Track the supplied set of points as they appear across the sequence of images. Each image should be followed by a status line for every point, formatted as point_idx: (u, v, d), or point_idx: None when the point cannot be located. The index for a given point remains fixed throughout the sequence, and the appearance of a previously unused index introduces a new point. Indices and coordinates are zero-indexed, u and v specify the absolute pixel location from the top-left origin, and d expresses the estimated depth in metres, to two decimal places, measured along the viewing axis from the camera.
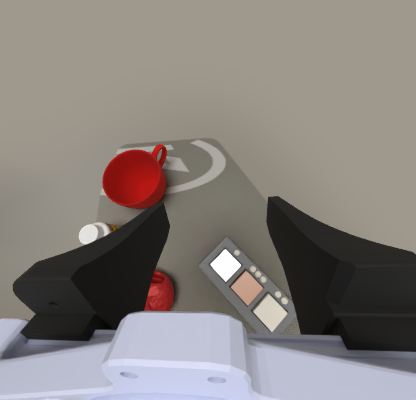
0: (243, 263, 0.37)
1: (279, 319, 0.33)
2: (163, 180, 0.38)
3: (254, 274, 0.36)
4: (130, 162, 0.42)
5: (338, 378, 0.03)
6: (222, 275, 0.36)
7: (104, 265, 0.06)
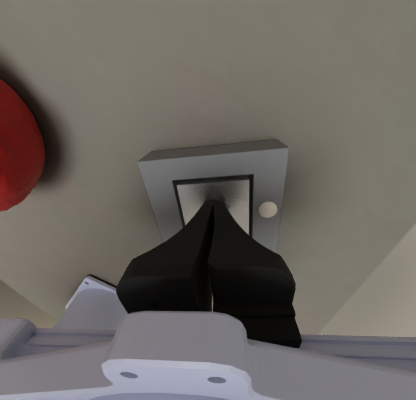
0: (258, 236, 0.13)
1: None
2: None
3: None
4: None
5: (338, 378, 0.03)
6: None
7: (199, 263, 0.06)
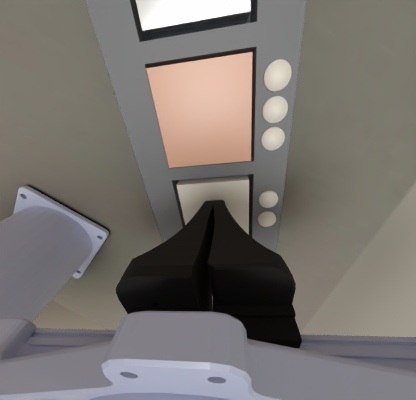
0: (268, 16, 0.07)
1: None
2: None
3: (263, 100, 0.09)
4: None
5: (338, 378, 0.03)
6: None
7: (199, 263, 0.06)
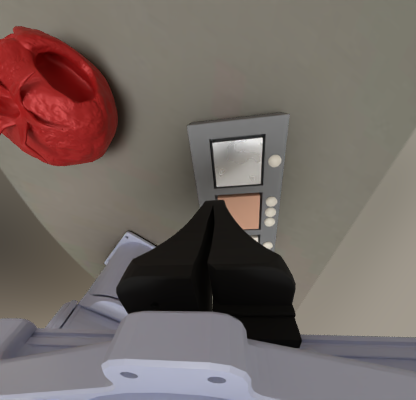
0: (267, 184, 0.18)
1: None
2: None
3: (265, 208, 0.20)
4: None
5: (338, 378, 0.03)
6: (219, 174, 0.18)
7: (199, 263, 0.06)
